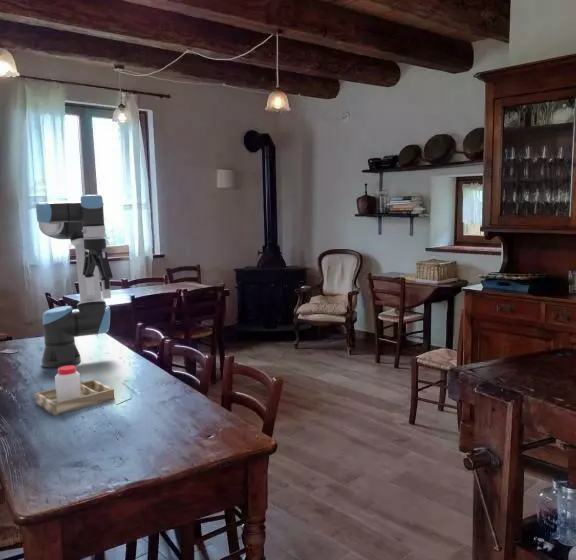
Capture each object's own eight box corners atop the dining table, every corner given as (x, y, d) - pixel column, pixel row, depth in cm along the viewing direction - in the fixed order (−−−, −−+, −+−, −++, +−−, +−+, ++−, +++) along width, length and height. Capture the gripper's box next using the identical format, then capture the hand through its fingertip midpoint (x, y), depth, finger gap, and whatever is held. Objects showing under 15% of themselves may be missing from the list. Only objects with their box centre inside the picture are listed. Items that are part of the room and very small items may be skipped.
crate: (36, 403, 188) (35, 393, 187) (94, 389, 201) (93, 379, 200) (53, 415, 176) (52, 404, 175) (114, 399, 189) (113, 389, 189)
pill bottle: (51, 402, 185) (48, 369, 184) (70, 394, 192) (67, 363, 191) (68, 405, 182) (65, 372, 180) (86, 397, 188) (84, 365, 187)
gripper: (70, 238, 211) (75, 294, 213) (99, 239, 192) (103, 301, 195) (90, 236, 216) (94, 292, 218) (119, 238, 197) (123, 298, 200)
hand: (98, 296), depth 207 cm, fingers open, 13 cm apart
